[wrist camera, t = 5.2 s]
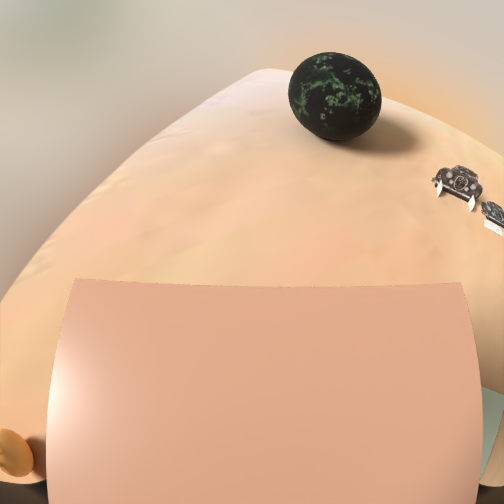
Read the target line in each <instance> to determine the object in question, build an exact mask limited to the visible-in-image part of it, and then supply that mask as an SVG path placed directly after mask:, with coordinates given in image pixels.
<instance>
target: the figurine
mask: <svg viewBox="0 0 504 504" xmlns="http://www.w3.org/2000/svg"><path fill="white" fill-rule="evenodd" d="M33 464H34V459H33V454H32V451H31V449H30V447H29V445H28V444H27V443H26V441H25V440H24V439H23V438H22V437H21V436H20V435H18V434H17V433H15V432H13V431H11V430H8V429H0V469H1V470H3V471H4V472H5V473H7V474H9V475H11V476H15V477H23V476H26V475H28V474H29V473H30V472H31V470H32V468H33Z"/></svg>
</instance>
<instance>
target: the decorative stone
mask: <svg viewBox="0 0 504 504" xmlns="http://www.w3.org/2000/svg"><path fill="white" fill-rule="evenodd" d="M288 96H289V102H290V106H291V108H292V111H293V113H294V115H295V116H296V118H297V119H298V121H299V122H300V123H301V124H302V125H303V126H304V127H305V128H306V129H308V130H309V131H310V132H312V133H314V134H315V135H317V136H320V137H322V138H325V139H331V140H347V139H352V138H355V137H357V136H359V135H361V134H363V133H364V132H366V131H367V130H368V129H369V128H370V127H371V126H372V125H373V124H374V123H375V121H376V119H377V118H378V116H379V113H380V110H381V103H382V98H381V91H380V87H379V85H378V83H377V80H376V79H375V77H374V75H373V74H372V73H371V71H370V70H369V69H368V68H367V67H366V66H365V65H364V64H362V63H361V62H360V61H358V60H356V59H355V58H353V57H350V56H348V55H345V54H341V53H335V52H326V53H320V54H317V55H314V56H312V57H309V58H308V59H306V60H305V61H303V62H302V63H301V64H300V65H299V66H298V67H297V69H296V70H295V71H294V73H293V75H292V77H291V79H290V83H289V89H288Z"/></svg>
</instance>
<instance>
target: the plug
mask: <svg viewBox="0 0 504 504" xmlns="http://www.w3.org/2000/svg"><path fill="white" fill-rule="evenodd" d="M482 442H483V410H482V392H481V380H480V371H479V363H478V356H477V350H476V344H475V338H474V333H473V328H472V323H471V319H470V314H469V310H468V306H467V302H466V298H465V295H464V291H463V288H462V284H461V282H459V283H442V284H421V285H395V286H357V287H249V286H209V285H181V284H159V283H140V282H123V281H108V280H94V279H81V278H75V280H74V284H73V287H72V290H71V293H70V297H69V300H68V304H67V307H66V311H65V315H64V319H63V323H62V327H61V331H60V336H59V340H58V345H57V350H56V355H55V361H54V366H53V372H52V379H51V386H50V394H49V403H48V414H47V430H46V475H47V490H48V500H49V504H475V503H476V498H477V492H478V486H479V479H480V470H481V459H482Z"/></svg>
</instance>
